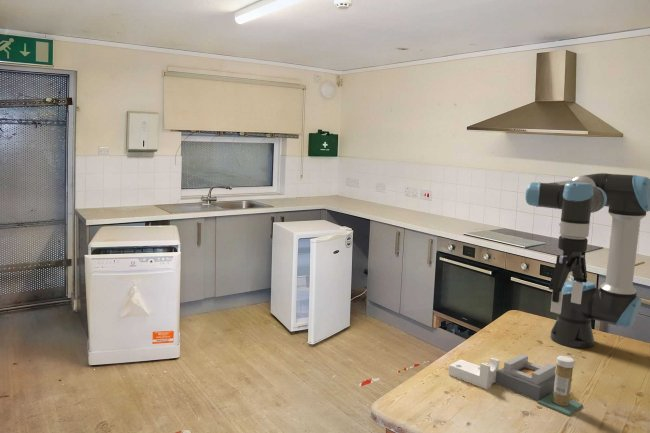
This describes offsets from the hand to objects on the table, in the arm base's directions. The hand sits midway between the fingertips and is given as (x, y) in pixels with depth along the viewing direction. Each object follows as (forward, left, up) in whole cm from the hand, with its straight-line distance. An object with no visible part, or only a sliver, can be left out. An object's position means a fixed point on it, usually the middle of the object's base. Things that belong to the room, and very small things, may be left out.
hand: (565, 307), depth 159 cm
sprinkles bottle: (+5, +4, -27) cm, 27 cm away
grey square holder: (+2, -8, -27) cm, 28 cm away
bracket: (+11, -21, -27) cm, 37 cm away
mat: (+6, +4, -27) cm, 28 cm away
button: (+2, -8, -26) cm, 27 cm away
